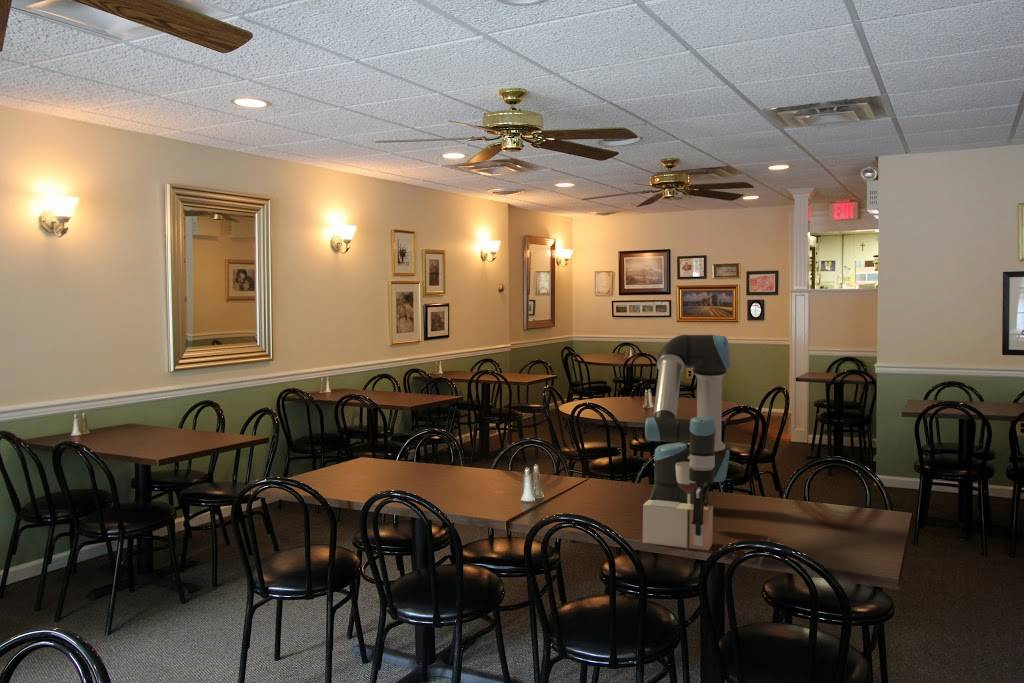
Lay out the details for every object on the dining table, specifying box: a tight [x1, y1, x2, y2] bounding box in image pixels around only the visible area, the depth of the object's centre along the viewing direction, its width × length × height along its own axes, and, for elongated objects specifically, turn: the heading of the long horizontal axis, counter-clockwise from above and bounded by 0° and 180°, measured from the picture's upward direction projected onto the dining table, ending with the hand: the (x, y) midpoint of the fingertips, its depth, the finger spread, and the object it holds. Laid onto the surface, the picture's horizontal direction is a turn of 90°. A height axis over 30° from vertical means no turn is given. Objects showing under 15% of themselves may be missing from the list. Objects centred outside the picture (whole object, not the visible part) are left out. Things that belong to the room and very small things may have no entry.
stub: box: [689, 504, 714, 551], centre depth 247 cm, size 7×6×12 cm
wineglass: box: [676, 462, 696, 504], centre depth 267 cm, size 9×10×22 cm
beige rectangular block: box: [642, 499, 693, 549], centre depth 251 cm, size 7×14×12 cm, turn 67°
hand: (700, 541), depth 247 cm, fingers closed on stub, 7 cm apart
